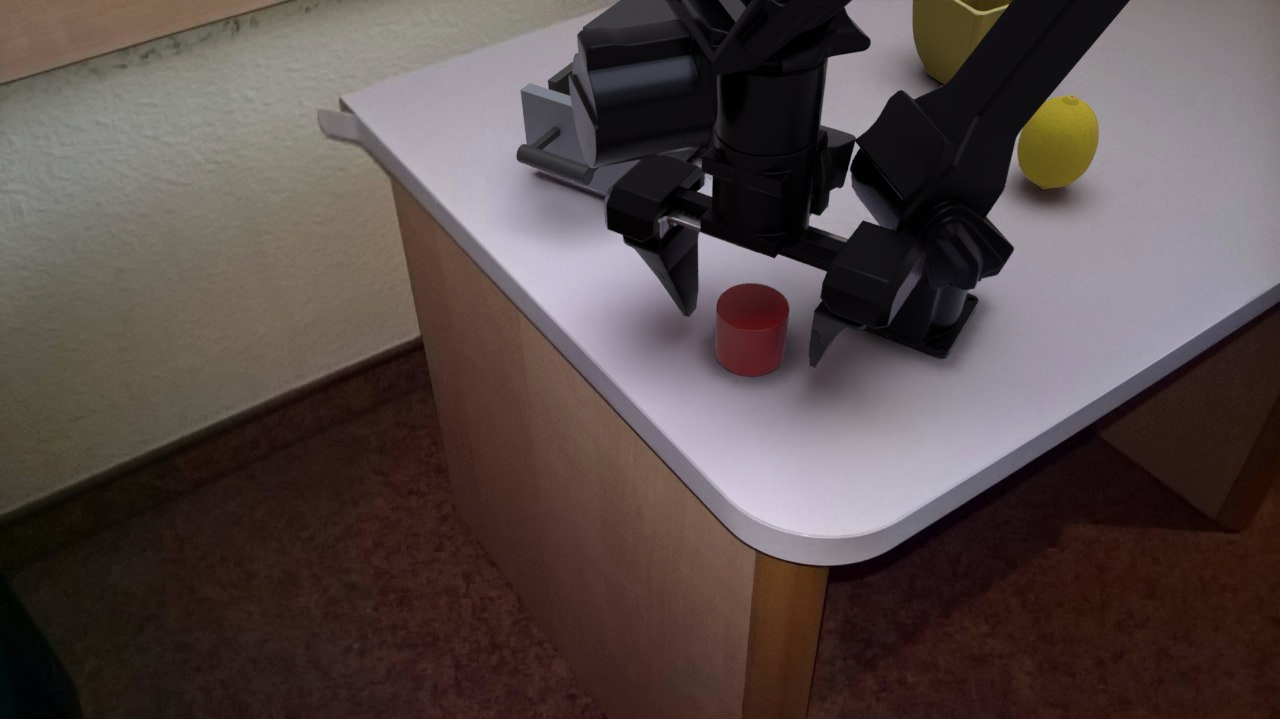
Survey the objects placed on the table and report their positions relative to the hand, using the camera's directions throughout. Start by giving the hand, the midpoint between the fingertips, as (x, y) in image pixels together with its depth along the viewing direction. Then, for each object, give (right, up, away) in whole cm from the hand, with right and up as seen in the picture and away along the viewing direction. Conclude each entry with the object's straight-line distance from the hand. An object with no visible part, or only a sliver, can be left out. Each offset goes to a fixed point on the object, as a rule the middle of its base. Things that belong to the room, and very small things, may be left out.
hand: (751, 337), depth 67 cm
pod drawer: (-9, +15, +16) cm, 24 cm away
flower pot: (+22, +24, +25) cm, 41 cm away
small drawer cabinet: (-2, +22, +24) cm, 32 cm away
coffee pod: (0, -1, +1) cm, 1 cm away
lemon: (+24, +12, +13) cm, 30 cm away
